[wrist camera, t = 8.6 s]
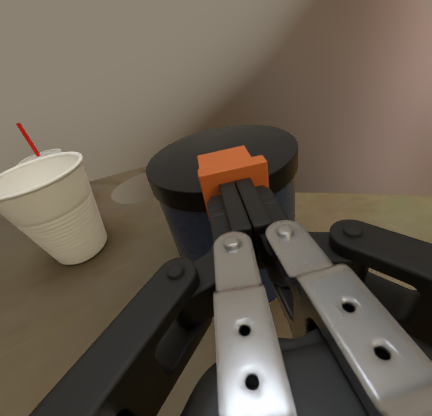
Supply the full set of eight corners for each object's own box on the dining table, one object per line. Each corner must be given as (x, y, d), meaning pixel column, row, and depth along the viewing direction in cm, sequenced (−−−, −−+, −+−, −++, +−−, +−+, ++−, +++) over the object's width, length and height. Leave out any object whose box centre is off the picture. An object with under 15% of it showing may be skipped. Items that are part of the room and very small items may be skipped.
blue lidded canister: (318, 296, 20) (329, 165, 14) (188, 325, 21) (135, 209, 14) (275, 217, 30) (269, 115, 23) (185, 237, 30) (152, 141, 23)
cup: (110, 214, 37) (73, 144, 31) (133, 246, 30) (91, 164, 24) (39, 249, 33) (-20, 177, 27) (46, 296, 26) (-33, 214, 20)
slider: (271, 213, 13) (267, 160, 11) (210, 227, 13) (198, 176, 11) (246, 167, 17) (241, 125, 16) (202, 177, 17) (192, 136, 16)
